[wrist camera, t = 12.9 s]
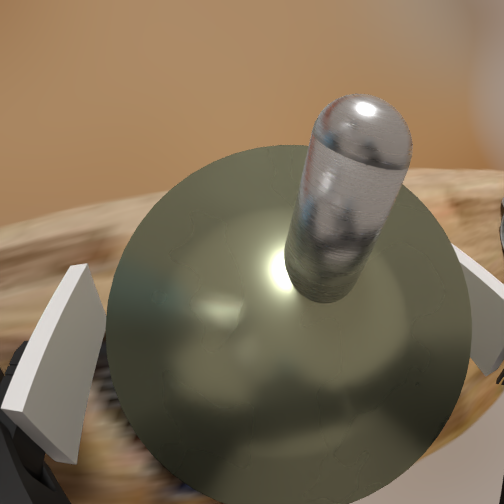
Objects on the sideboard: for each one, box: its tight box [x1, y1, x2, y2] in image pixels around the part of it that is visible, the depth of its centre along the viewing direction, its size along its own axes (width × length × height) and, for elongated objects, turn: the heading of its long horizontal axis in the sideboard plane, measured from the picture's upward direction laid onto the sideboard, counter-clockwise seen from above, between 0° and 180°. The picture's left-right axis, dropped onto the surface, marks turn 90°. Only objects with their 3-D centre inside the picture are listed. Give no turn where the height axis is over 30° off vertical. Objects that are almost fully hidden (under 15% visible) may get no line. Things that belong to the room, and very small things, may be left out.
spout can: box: [106, 94, 472, 504], centre depth 10 cm, size 7×7×16 cm
